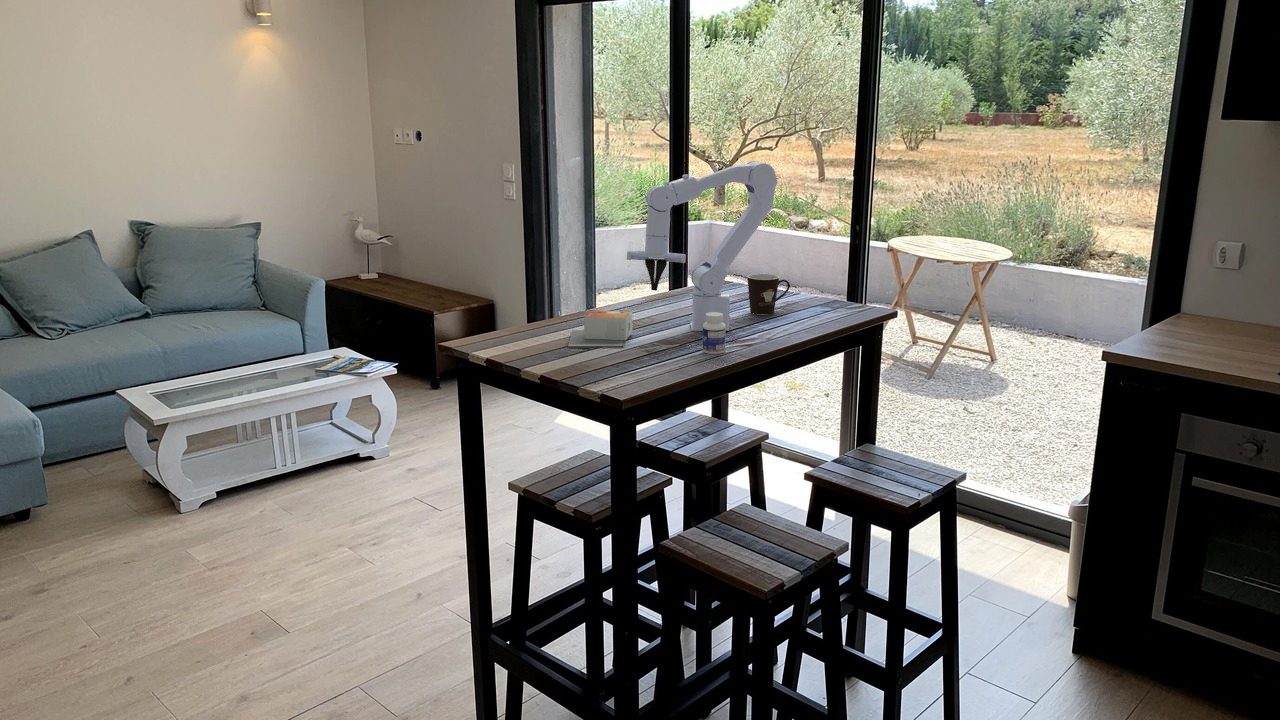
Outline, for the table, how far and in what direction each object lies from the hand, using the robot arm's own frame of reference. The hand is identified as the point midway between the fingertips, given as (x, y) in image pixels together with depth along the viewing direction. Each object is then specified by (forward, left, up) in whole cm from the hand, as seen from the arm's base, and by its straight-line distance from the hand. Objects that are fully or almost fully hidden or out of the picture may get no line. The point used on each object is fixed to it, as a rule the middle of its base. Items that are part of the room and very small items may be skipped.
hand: (654, 289), depth 231 cm
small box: (+6, +8, -7) cm, 13 cm away
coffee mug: (-31, -19, -11) cm, 38 cm away
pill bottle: (-13, +21, -11) cm, 27 cm away
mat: (+14, +9, -10) cm, 20 cm away
